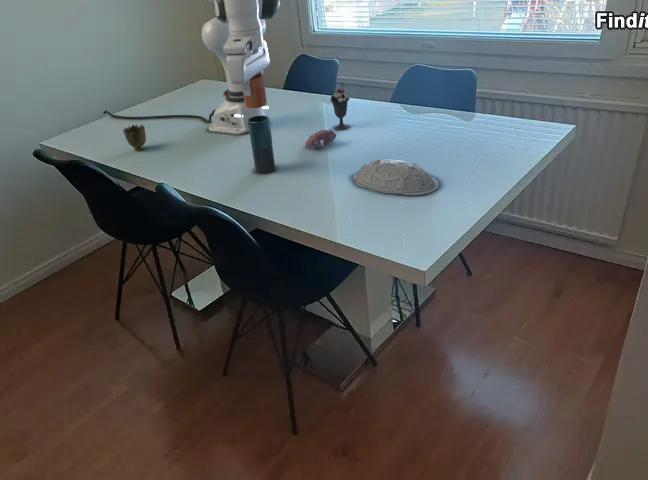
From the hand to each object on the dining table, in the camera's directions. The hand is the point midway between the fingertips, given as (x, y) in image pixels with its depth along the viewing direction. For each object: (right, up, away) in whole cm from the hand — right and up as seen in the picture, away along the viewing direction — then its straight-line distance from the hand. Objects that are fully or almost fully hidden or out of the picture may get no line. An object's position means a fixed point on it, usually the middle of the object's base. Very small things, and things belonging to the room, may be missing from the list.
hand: (254, 91), depth 156 cm
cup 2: (-44, -8, +40) cm, 60 cm away
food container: (+40, -26, -3) cm, 48 cm away
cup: (0, -3, +2) cm, 4 cm away
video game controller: (+20, -10, +25) cm, 34 cm away
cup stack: (+2, -20, +13) cm, 24 cm away
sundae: (+28, 0, +38) cm, 47 cm away
